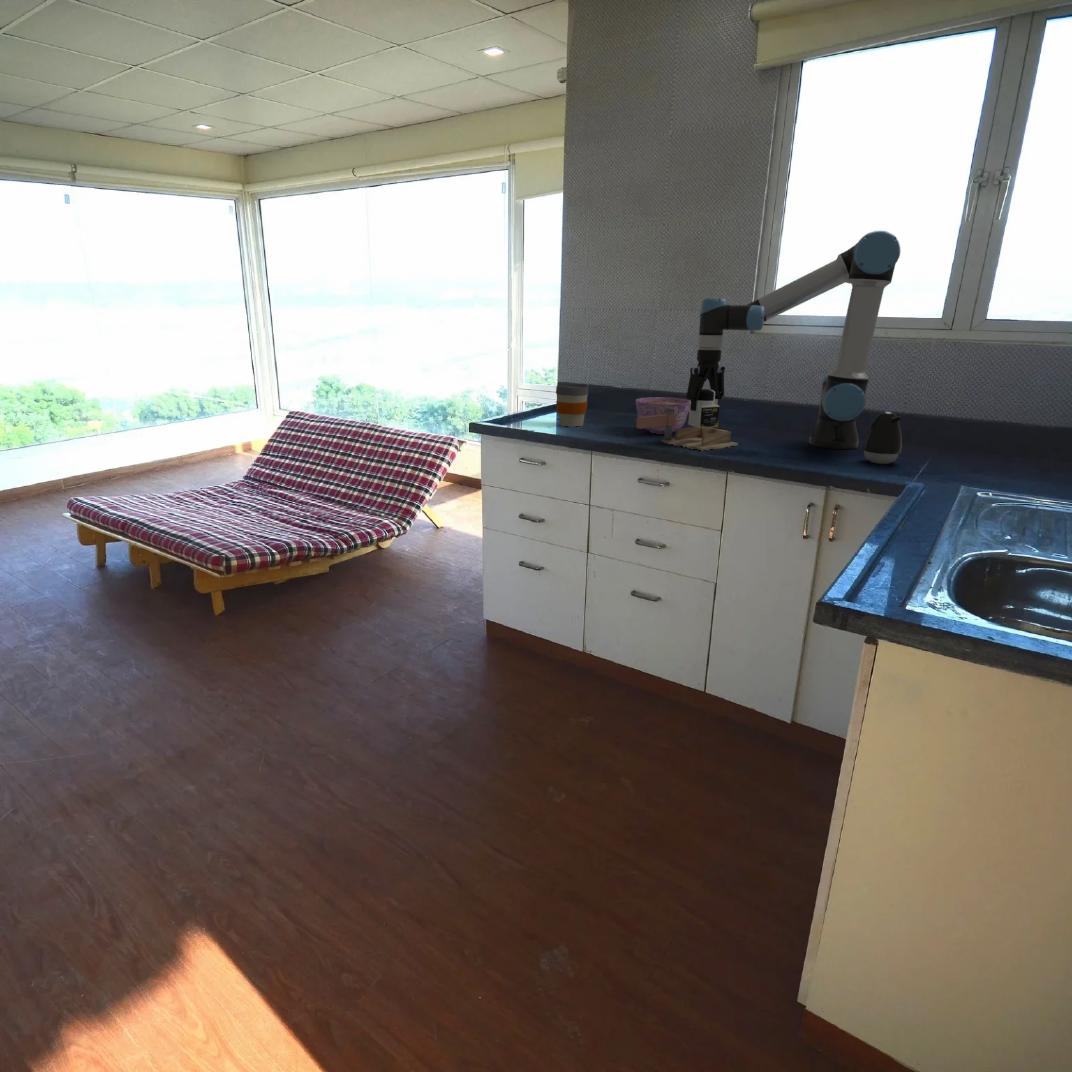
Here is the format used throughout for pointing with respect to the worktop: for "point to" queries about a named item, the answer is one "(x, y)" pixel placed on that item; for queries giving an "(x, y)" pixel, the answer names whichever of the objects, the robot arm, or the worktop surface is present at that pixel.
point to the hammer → (659, 422)
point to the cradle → (701, 438)
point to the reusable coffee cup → (571, 404)
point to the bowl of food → (663, 410)
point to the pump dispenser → (883, 439)
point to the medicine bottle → (706, 411)
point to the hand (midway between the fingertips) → (703, 419)
